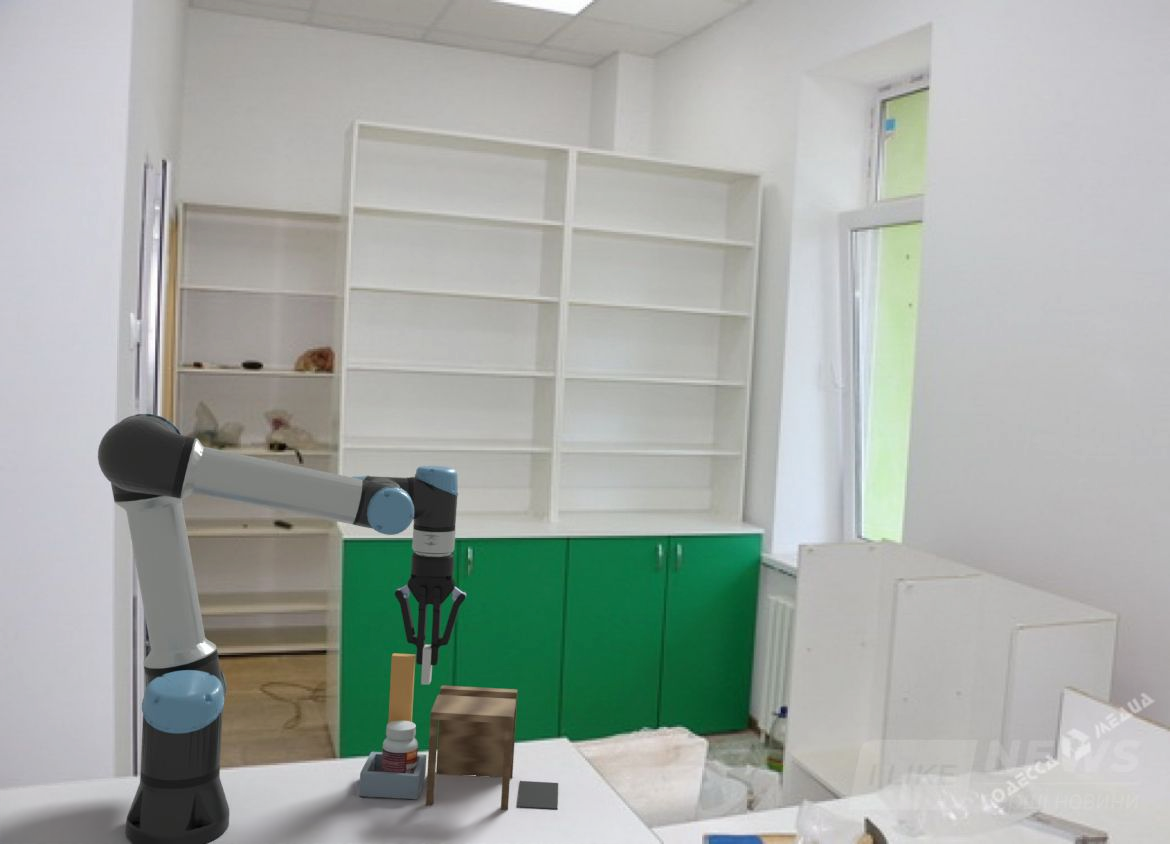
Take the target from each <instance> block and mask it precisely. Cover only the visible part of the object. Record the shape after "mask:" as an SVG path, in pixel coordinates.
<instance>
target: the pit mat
mask: <svg viewBox="0 0 1170 844" xmlns="http://www.w3.org/2000/svg"><path fill="white" fill-rule="evenodd" d="M517 794H518V795H517V804H516V808H520V809H521V808H522V809H523V808H525V809H541V810H542V809H543V810H544V809H545V810H558V808H559V807H558V806H559V805H558V804H559V803H558V802H559V782H547V781H530V780H529V781H527V780H520V781H519V785H518V793H517Z"/></svg>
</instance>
